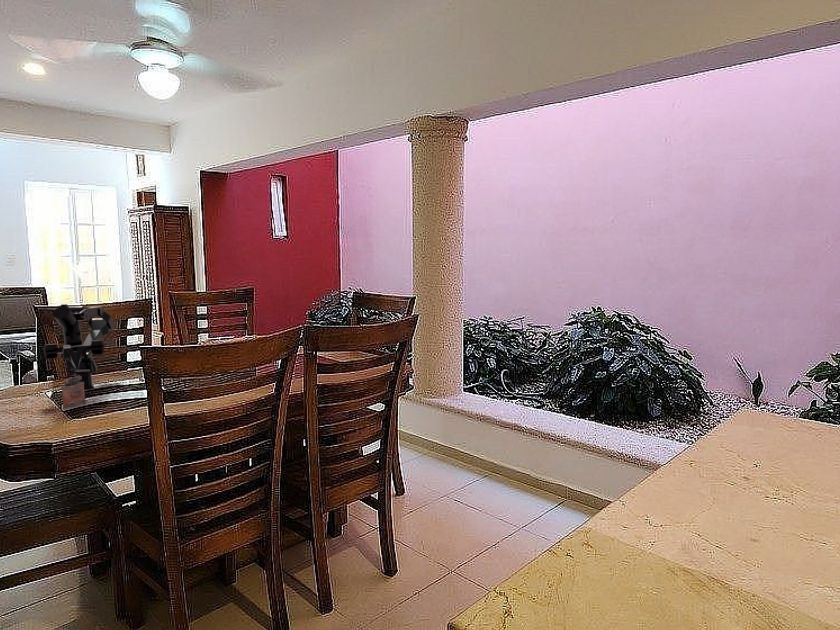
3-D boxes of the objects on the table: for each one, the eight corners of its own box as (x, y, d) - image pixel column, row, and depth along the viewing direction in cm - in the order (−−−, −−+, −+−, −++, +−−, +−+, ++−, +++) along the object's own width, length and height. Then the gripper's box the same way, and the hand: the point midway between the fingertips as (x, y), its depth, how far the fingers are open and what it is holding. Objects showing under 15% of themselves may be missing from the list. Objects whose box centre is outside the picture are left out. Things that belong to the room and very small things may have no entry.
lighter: (67, 408, 195) (65, 379, 194) (60, 407, 196) (58, 379, 195) (88, 402, 203) (86, 375, 202) (81, 402, 204) (78, 374, 203)
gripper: (100, 344, 225) (105, 377, 217) (43, 349, 214) (46, 384, 207) (101, 326, 218) (106, 360, 210) (42, 331, 207) (45, 366, 199)
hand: (76, 367), depth 207 cm, fingers closed
